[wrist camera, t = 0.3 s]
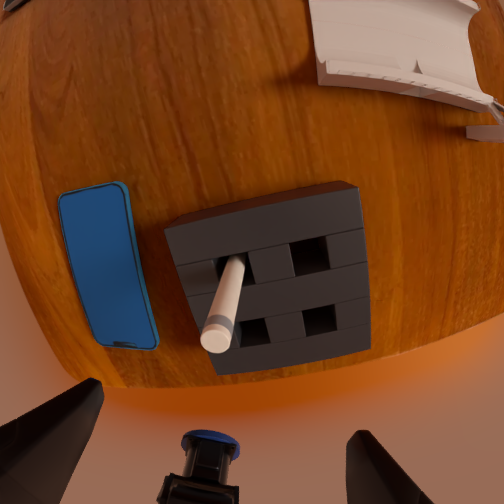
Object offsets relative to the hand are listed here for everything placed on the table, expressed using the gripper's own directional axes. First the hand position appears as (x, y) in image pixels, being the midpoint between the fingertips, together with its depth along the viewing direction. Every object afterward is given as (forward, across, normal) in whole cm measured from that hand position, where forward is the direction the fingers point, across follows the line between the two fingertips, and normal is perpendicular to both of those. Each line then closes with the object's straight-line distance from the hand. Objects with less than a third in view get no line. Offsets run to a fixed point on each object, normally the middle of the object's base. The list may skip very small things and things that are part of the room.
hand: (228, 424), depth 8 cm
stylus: (+14, +1, -1) cm, 14 cm away
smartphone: (+14, +12, +4) cm, 19 cm away
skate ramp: (+14, -8, -20) cm, 26 cm away
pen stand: (+14, -2, 0) cm, 14 cm away
